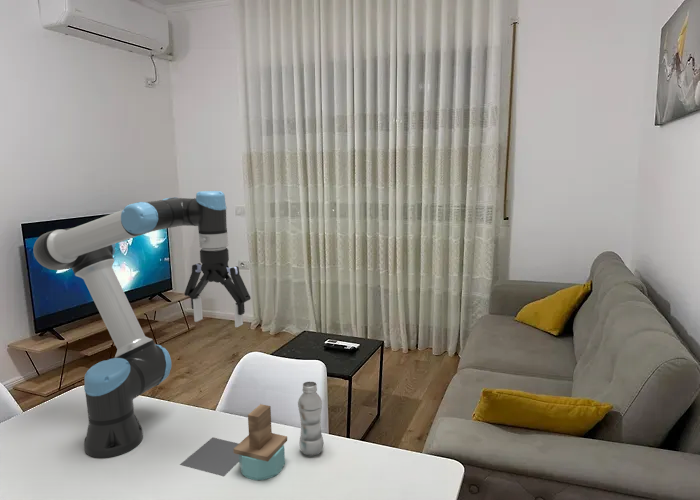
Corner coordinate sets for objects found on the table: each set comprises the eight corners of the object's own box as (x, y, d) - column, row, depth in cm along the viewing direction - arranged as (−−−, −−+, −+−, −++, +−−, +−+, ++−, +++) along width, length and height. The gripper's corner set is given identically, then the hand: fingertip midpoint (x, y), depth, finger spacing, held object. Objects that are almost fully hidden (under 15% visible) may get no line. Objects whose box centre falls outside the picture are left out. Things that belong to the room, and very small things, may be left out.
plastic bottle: (320, 460, 133) (318, 390, 130) (296, 457, 134) (294, 388, 131) (326, 446, 139) (324, 380, 136) (303, 444, 141) (301, 378, 137)
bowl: (232, 475, 127) (231, 453, 126) (255, 451, 137) (254, 432, 136) (269, 485, 123) (268, 463, 122) (290, 460, 133) (290, 439, 132)
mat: (179, 465, 131) (179, 464, 131) (212, 438, 144) (212, 437, 144) (223, 477, 126) (223, 476, 126) (253, 448, 139) (253, 447, 139)
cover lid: (233, 453, 126) (231, 416, 125) (255, 433, 135) (253, 398, 134) (267, 461, 123) (266, 423, 121) (287, 440, 132) (286, 404, 130)
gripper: (167, 247, 136) (173, 322, 140) (245, 253, 127) (249, 332, 131) (186, 243, 143) (191, 314, 147) (260, 248, 134) (264, 323, 138)
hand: (218, 323), depth 139 cm, fingers open, 13 cm apart
